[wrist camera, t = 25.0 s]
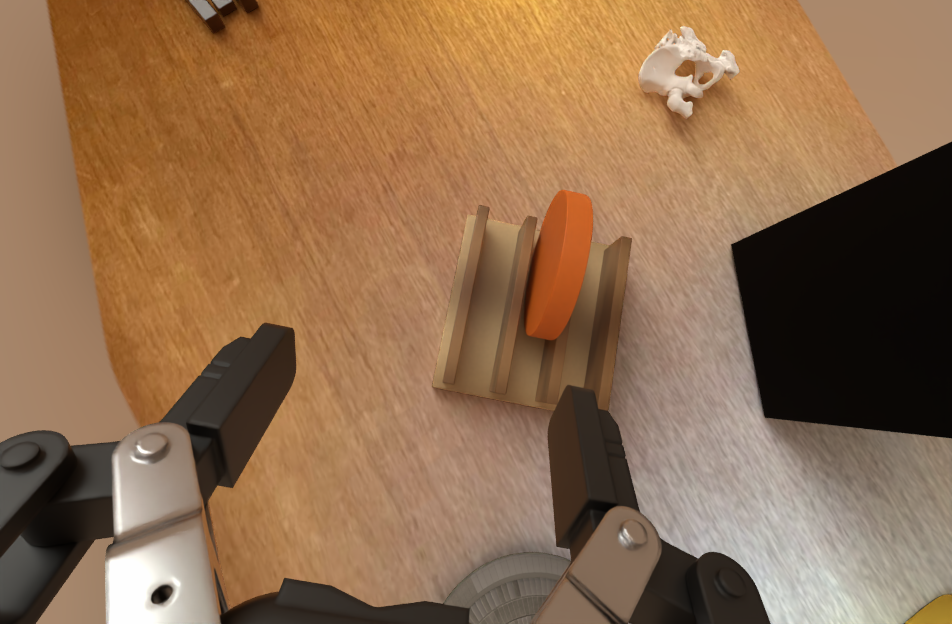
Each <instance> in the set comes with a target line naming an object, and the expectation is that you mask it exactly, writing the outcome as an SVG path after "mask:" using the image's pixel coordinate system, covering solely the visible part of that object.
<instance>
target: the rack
mask: <svg viewBox="0 0 952 624" xmlns="http://www.w3.org/2000/svg"><path fill="white" fill-rule="evenodd" d="M488 213H489V207H487V206H482V205H479V207H478V211H477V216H472V215H467V220H466V225H465V230H464V234H463V239H462V244H461V249H460V254H459V258H458V263H457V268H456V273H455V278H454V282H453V287H452V292H451V297H450V302H449V306H448V311H447V316H446V321H445V326H444V330H443V335H442V340H441V345H440V350H439V354H438V359H437V364H436V369H435V374H434V378H433V383H432V387H433V388H438V389H444V390H449V391H454V392H459V393H464V394H469V395H474V396H479V397H484V398H490V399H495V400H500V401H505V402H510V403H515V404H520V405H525V406H530V407H536V408H541V409H546V410H551V411H554V410H555V408H556V406H557V404H558V402H559V399H560V397H561V395H562V393H563V391H564V389H565V387H566V386H567V385H572V386H577V387H582V388H587V389H592V390H594V392H595V395H596V400H597V405H598V409H602V410H607V411H608V409H609V402H610V395H611V388H612V380H613V373H614V366H615V358H616V351H617V344H618V337H619V329H620V322H621V315H622V307H623V300H624V293H625V286H626V278H627V271H628V264H629V256H630V249H631V242H632V238H628V237H624V236H622V237H620V238H619V239H618V240H616V241H615V242H614V243H613V244H611V245H610V246H609V245H605V244H600V243H595V242H591V247H590V253H589V258H588V263H587V268H586V272H585V276H584V280H583V283H582V287H581V290H580V293H579V296H578V299H577V302H576V305H575V307H574V310H573V312H572V314H571V317H570V319H569V321H568V323H567V325H566V326H565V328H564V330H563V331H562V333H561V334H560V335H559V336H558V337H557V338H556V339H554V340H546V339H541V338H536V337H531V336H528V335H527V334H526V331H525V326H524V307H525V297H526V290H527V283H528V278H529V273H530V268H531V263H532V259H533V255H534V251H535V247H536V243H537V240H538V237H539V233H540V230H536V224H537V218H536V217H532V216H527V217H526V219H525V221H524V223H523V225H522V226H518V225H513V224H509V223H504V222H499V221H495V220H490V219H487V218H488Z"/></svg>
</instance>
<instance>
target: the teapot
mask: <svg viewBox="0 0 952 624" xmlns="http://www.w3.org/2000/svg"><path fill="white" fill-rule="evenodd" d="M905 624H952V595H949V594H947V595H942V596H940V597H938V598H936V599H935V600H933V601H932V602H931V603H929V604H928V605H926V606H925V607H924V608H923V609H921V610H920V611H919V612H918V613H916V614H915V615H914V616H913V617H912V618H910V619H909V620H908V621H907V622H906V623H905Z"/></svg>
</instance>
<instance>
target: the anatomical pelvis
mask: <svg viewBox="0 0 952 624" xmlns="http://www.w3.org/2000/svg"><path fill="white" fill-rule="evenodd" d="M680 30H681V33H682V36H680V38H677V34H676V33H674V34H672V30H671V29H670V30H669V32H668V33H667V34H666V35H665V36H664V37H663V38H662V39H661V40H660V42H659V43H658V44H657V45H656V46H655V50H654V51H653V52H652V53H651V54H650V55H649V56H648V57H647V58H646V59H645V61H644V62H643V64H642V67H641V69H640V71H639V78H638V80H639V85H640V87H641V88H642V90H643V91H644V92H646V93H650V92H658V93H659V95H662V96H666V95H667V96H668V97H669V99H668V101H667V106H668V107H669V108H670V109H671V111H673V112H677V113H679V114H681V115H682V116H683V117H684V118H685V119H687V118H688V117H689V116H691V115H692V114H693V112H692V107H693V103H692V102H691V101H689V102H685V101H683V99H684V98H685V97H688V96H693V97H695V98H702V97H703V90H707V89H709V88H710V87H711V86H712V85H713V84H714V83H716V82H718V81H719V80H720V79H721V78H722V76H723V74H724V73H725V74H726V75H727V76H728V78H729V79H730V80H731V79H732V78H733V77H734V76H736V75H737V74H738V73H739V72H740V70H739V68H738V66H737V64H736V61H735V57H734V55H733V54H732V53H731V52H730V51H728V50H723V51H722V52H721V55H720V57H719V58H714V57H713V56H711V55H710V54H708V53H706V46H705V45H704V44H703V43H702V42H700V41H699V40H698V39H697V37H696V35H695V33H694V31H693V30H692V29H691V28H689V27H685V26H682V27H680ZM667 38H669V40H667ZM674 43H675V45H673V44H674ZM685 60H691V61H695V77H694V81H693V83H692V80H693V76H692V75H691V74H690V75H689V76H688V77H680V76H676V75H675V71H676V69H677V68H678V67H679V66H680V65H681V64H682V62H684V61H685ZM704 72H705V73H708V72H712V73H713V74H714V76H713V78H712V79H711V80H710V81H709V82H707V83H706V84H699V83H698V80H699V79H700V78H701V77H702V76H703V75H704Z"/></svg>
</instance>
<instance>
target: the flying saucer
mask: <svg viewBox="0 0 952 624" xmlns="http://www.w3.org/2000/svg"><path fill="white" fill-rule="evenodd" d="M570 562H571V561H570V560H568V559H565V558H563V557H560V556H556V555H552V554H547V553H539V552H524V553H516V554H511V555H507V556H503V557H500V558H498V559H495V560H493V561H490V562H488V563H486V564H485V565H483V566H481V567H479V568H478V569H476V570H475V571H473V572H472V573H471V574H469V575H468V576H467V577H466V578H465V579H464V580H462V581H461V582H460V583H459V584H458V585H457V586H456V588H455V589H454V590H453V591H452V592H451V593H450V595H449V596H448V597H447V599H446V600H445V602H444V603H443V604H446V605H452V606H458V607H464V608H470V614H469V623H471V624H529V623H530V622H531V620H532V619H533V617H534V616H535V614H536V613H537V611H538V610H539V608H540V607H541V605H542V604H543V602H544V601H545V599H546V598H547V596H548V595H549V593H550V592H551V590H552V589H553V587H554V586H555V584H556V583H557V582H558V580H559V579H560V577H561V576H562V574H563V573H564V571H565V570H566V568H567V567H568V565H569V564H570Z"/></svg>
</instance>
